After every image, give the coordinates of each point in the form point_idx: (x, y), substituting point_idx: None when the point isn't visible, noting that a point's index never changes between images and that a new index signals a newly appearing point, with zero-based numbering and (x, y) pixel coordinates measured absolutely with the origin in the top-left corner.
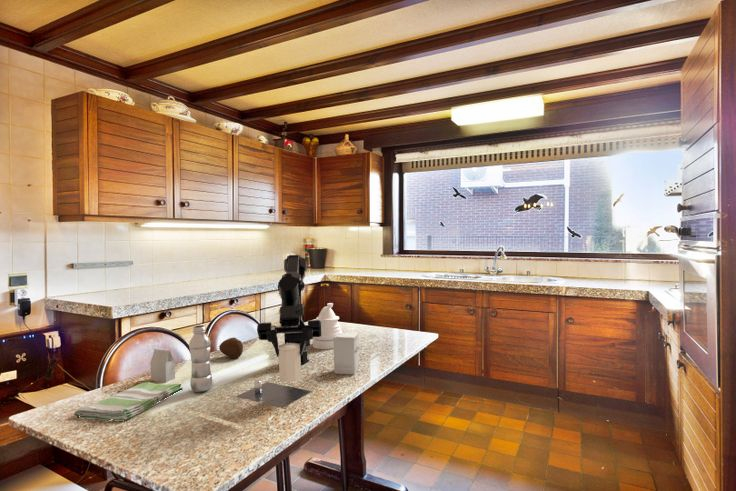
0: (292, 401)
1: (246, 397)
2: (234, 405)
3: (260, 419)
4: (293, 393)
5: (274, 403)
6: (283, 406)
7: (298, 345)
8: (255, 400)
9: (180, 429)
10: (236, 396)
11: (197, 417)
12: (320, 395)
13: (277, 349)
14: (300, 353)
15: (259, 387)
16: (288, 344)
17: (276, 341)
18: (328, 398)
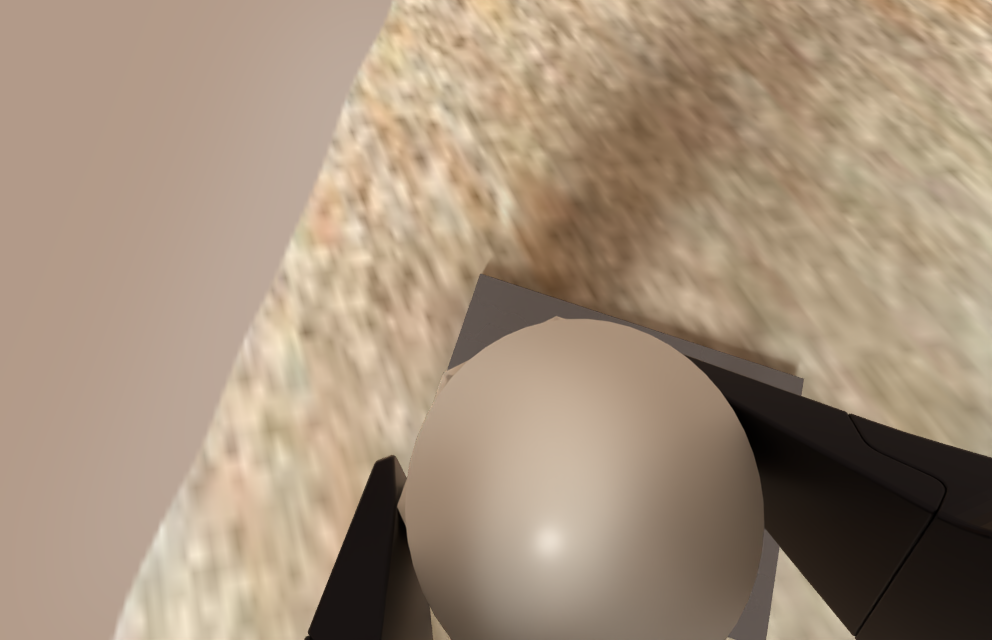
0: (461, 355)
1: (737, 372)
2: (747, 306)
3: (543, 185)
4: None
5: (546, 316)
6: (483, 289)
7: (426, 530)
8: (666, 340)
9: (802, 80)
10: (798, 378)
11: (819, 173)
12: (339, 508)
13: (719, 386)
14: (390, 456)
15: None
16: (639, 573)
17: (856, 453)
18: (278, 469)
